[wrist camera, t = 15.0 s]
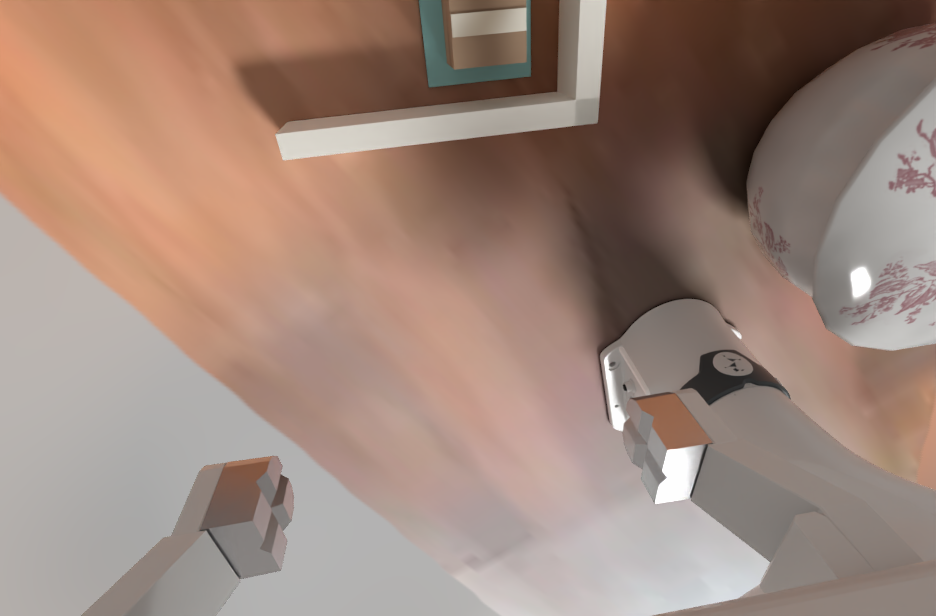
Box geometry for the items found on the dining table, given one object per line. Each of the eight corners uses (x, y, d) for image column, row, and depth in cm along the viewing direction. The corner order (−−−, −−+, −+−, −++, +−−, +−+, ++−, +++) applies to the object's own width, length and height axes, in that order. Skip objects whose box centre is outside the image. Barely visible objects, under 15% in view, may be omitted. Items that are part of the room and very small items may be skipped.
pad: (529, 75, 40) (530, 76, 40) (428, 87, 40) (428, 87, 39) (529, -54, 35) (530, -54, 35) (413, -44, 35) (413, -44, 34)
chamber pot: (668, 98, 43) (854, 153, 26) (970, -75, 39) (1435, -147, 22) (720, 307, 58) (859, 432, 41) (942, 199, 54) (1204, 286, 36)
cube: (509, -23, 36) (526, -29, 31) (510, 56, 39) (527, 62, 34) (439, -17, 35) (447, -22, 31) (446, 63, 38) (454, 69, 34)
